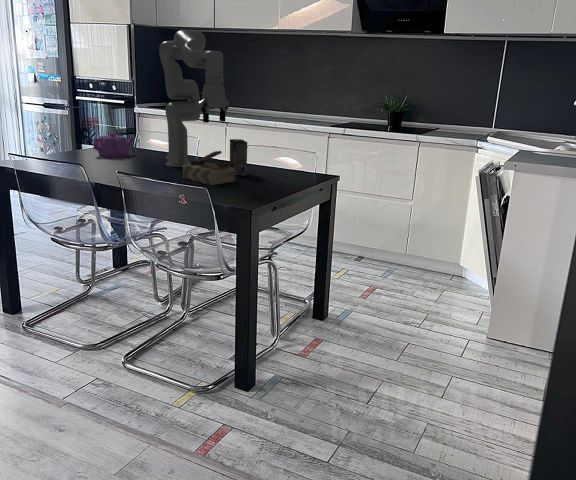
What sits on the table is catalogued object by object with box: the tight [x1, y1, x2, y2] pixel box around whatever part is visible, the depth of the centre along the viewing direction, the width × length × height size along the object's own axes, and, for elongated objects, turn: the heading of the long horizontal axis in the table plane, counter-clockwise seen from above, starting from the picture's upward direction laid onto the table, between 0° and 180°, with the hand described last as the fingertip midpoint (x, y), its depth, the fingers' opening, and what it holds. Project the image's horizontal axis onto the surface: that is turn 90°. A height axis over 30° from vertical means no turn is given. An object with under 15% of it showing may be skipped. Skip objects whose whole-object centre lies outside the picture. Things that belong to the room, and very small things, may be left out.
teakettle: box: [92, 132, 134, 159], centre depth 304 cm, size 17×17×12 cm
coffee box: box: [229, 138, 248, 176], centre depth 268 cm, size 9×6×16 cm
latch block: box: [182, 160, 236, 186], centre depth 253 cm, size 20×14×8 cm
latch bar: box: [195, 150, 223, 164], centre depth 252 cm, size 16×4×1 cm, turn 48°
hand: (214, 121), depth 245 cm, fingers open, 9 cm apart
